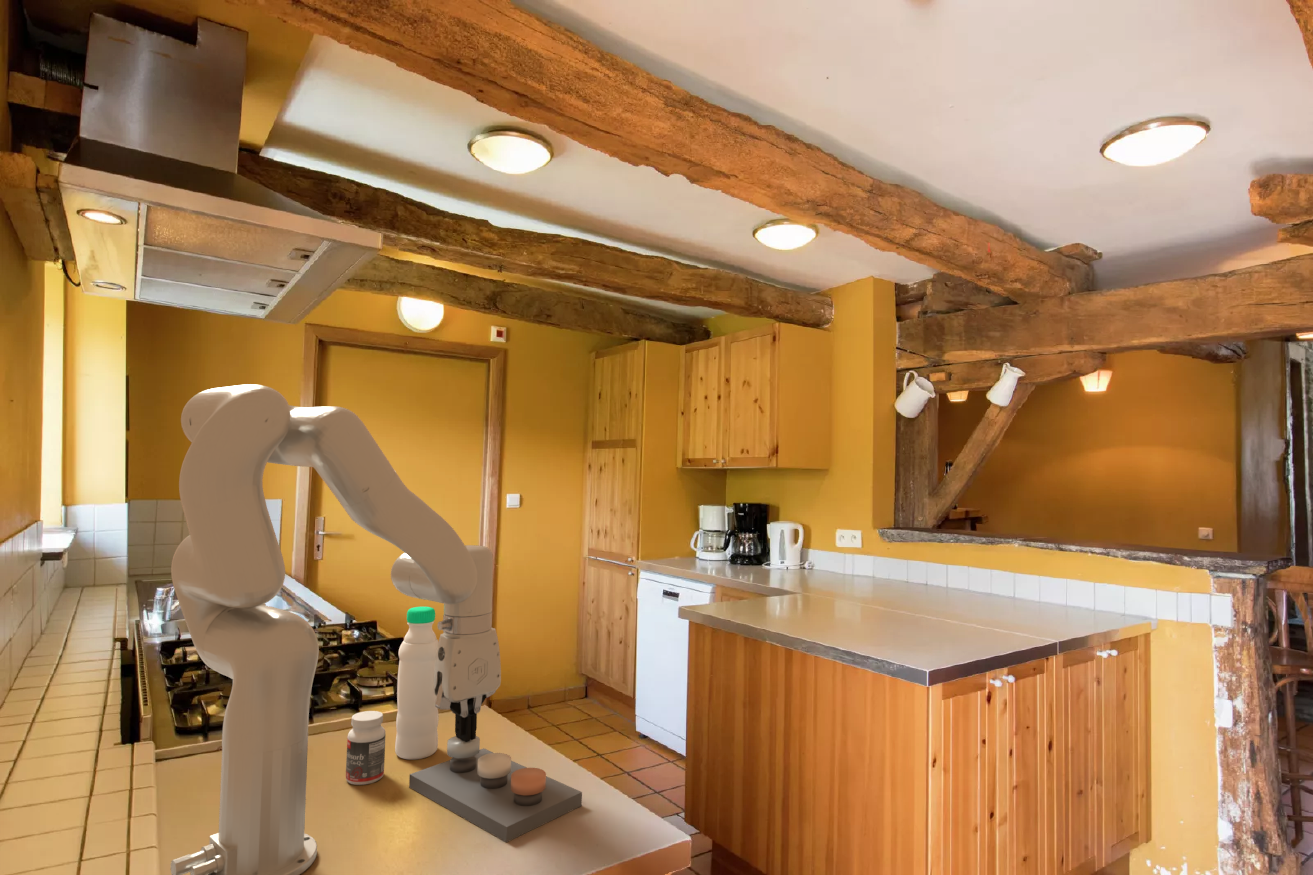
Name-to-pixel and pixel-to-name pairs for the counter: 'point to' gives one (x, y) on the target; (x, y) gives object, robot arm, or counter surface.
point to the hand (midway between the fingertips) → (465, 738)
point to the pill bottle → (365, 748)
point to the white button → (494, 765)
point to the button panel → (493, 797)
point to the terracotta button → (528, 781)
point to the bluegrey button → (462, 747)
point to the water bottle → (417, 688)
